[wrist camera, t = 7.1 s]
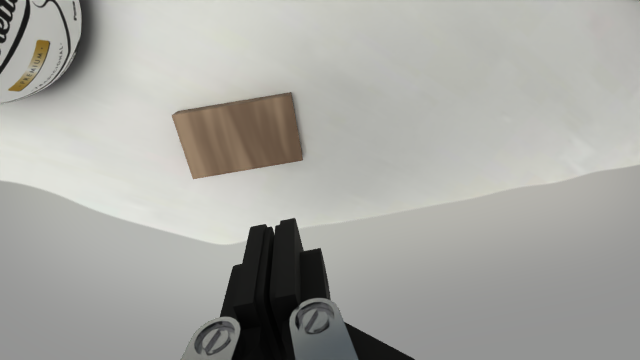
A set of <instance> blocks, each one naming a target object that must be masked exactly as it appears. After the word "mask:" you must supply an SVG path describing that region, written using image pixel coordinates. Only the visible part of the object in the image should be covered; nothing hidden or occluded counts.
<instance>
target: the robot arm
mask: <svg viewBox="0 0 640 360" xmlns="http://www.w3.org/2000/svg"><path fill="white" fill-rule="evenodd" d="M181 360H415V359H413V358H411V357H409V356H407V355H406V354H404V353H402V352H400V351H398V350H396V349H394V348H393V347H390V346H388V345H387V344H385V343H383V342H381V341H379V340H377V339H375V338H374V337H372V336H370V335H368V334H366V333H364V332H362V331H360V330H359V329H357V328H355V327H353V326H351V325H349V324H347V323H345V322H344V321H343V318H342V316H341V313H340V310H339V308H338V307H337V305H336V304H335V303H334V302H332V301H331V299H330V292H329V286H328V279H327V274H326V269H325V264H324V260H323V256H322V252H321V248H318V249H313V250H308V251H303V247H302V243H301V239H300V235H299V231H298V227H297V223H296V219H295V218H293V219H288V220H283V221H280V225H277V226H275V235H274V231H273V228H272V227H267V226H266V224H263V225H258V226H253V227H251V228H250V231H249V236H248V240H247V245H246V250H245V254H244V258H243V263H242V264H239V265H235V266H233V269H232V272H231V276H230V280H229V283H228V287H227V291H226V295H225V299H224V303H223V307H222V310H221V314H220V317H219V318H215V319H213V320H211V321H208V322H207V323H205V324H204V325H203V326H201V327H200V328H199V329H198V330H197V331H196V332H195V333H194V335H193V337H192V338H191V340H190V342H189V344H188V346H187V348H186V350H185V352H184V354H183V356H182V358H181Z"/></svg>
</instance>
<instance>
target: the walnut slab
mask: <svg viewBox="0 0 640 360" xmlns="http://www.w3.org/2000/svg"><path fill="white" fill-rule="evenodd" d="M172 118H173V121H174V124H175V127H176V130H177V133H178V136H179V139H180V142H181V144H182V147H183V150H184V153H185V156H186V159H187V162H188V165H189V168H190V171H191V174H192V177H193V179H197V178H203V177H209V176H214V175H220V174H226V173H232V172H238V171H244V170H249V169H255V168H261V167H267V166H273V165H279V164H285V163H290V162H296V161H302V160H303V157H302V151H301V145H300V140H299V134H298V129H297V123H296V118H295V112H294V106H293V101H292V95H291V92H290V93H284V94H278V95H272V96H266V97H260V98H254V99H248V100H242V101H236V102H230V103H224V104H218V105H212V106H206V107H200V108H194V109H188V110H182V111H178V112H176V113H175V114H173V115H172Z"/></svg>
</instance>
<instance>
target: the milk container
mask: <svg viewBox="0 0 640 360" xmlns="http://www.w3.org/2000/svg"><path fill="white" fill-rule="evenodd" d="M81 22H82V17H81V8H80V3H79V0H0V104H4V103H9V102H13V101H17V100H20V99H23V98H25V97H28V96H31V95H33V94H35V93H37V92H39V91H41V90H43V89H44V88H46V87H48V86H49V85H51V84H52V83H54V82H55V81H56V80H57V79H59V78H60V77H61V76H62V75H63V74H64V73H65V71H66V70H67V69H68V68H69V66H70V64H71V63H72V61H73V59H74V57H75V55H76V52H77V49H78V46H79V42H80V36H81Z"/></svg>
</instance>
